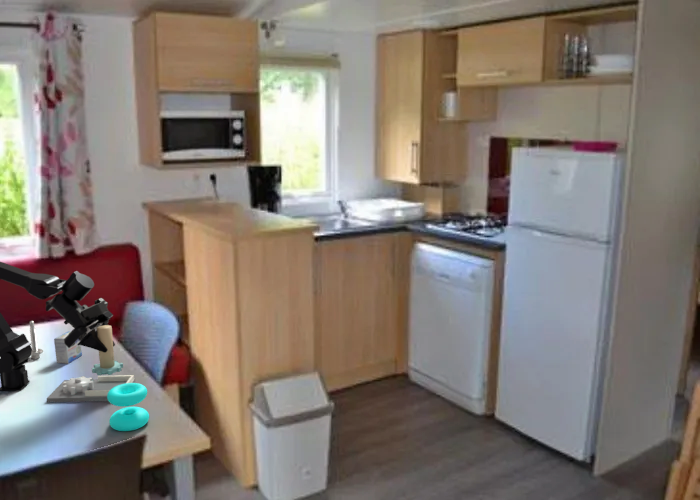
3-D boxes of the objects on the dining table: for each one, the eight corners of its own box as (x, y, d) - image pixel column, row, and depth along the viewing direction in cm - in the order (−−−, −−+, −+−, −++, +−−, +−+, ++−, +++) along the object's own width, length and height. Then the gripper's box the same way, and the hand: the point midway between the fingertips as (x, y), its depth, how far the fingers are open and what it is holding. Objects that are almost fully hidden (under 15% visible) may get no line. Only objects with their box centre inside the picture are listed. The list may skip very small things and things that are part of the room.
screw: (24, 358, 221) (38, 354, 225) (32, 361, 218) (46, 357, 222) (20, 321, 218) (34, 317, 222) (28, 324, 215) (42, 320, 219)
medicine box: (68, 364, 215) (65, 339, 214) (56, 363, 216) (53, 338, 214) (82, 355, 223) (80, 331, 221) (70, 354, 224) (68, 330, 222)
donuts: (144, 378, 178) (149, 392, 169) (147, 412, 180) (151, 428, 171) (105, 384, 174) (108, 399, 165) (108, 419, 176) (111, 436, 167)
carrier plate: (47, 402, 187) (45, 389, 186) (64, 383, 200) (63, 371, 199) (122, 400, 188) (121, 387, 187) (135, 382, 200) (134, 370, 200)
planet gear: (94, 377, 187) (91, 334, 184) (89, 367, 194) (86, 325, 191) (125, 371, 191) (122, 329, 188) (119, 362, 198) (116, 321, 195)
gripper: (70, 301, 179) (111, 342, 180) (104, 284, 197) (141, 320, 198) (46, 328, 182) (87, 367, 183) (82, 308, 200) (119, 344, 201)
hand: (110, 348), depth 191 cm, fingers closed on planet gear, 4 cm apart
